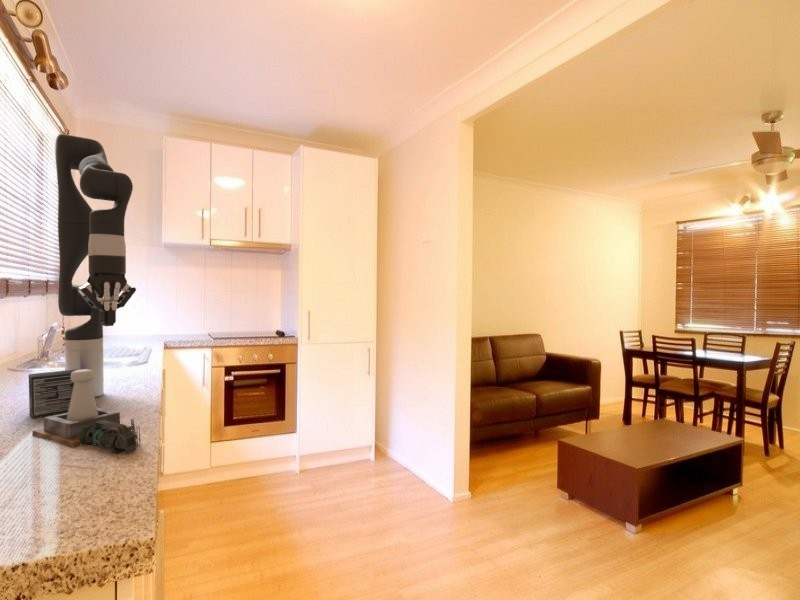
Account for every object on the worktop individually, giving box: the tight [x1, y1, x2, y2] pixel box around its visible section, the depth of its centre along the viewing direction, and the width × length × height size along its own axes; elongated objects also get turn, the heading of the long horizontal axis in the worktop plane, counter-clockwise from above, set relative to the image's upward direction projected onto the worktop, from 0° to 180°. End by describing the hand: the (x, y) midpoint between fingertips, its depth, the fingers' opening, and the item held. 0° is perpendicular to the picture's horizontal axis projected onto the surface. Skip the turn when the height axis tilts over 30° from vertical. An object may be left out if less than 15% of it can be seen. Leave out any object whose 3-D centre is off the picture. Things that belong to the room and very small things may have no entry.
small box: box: [28, 369, 78, 420], centre depth 115 cm, size 11×6×10 cm, turn 135°
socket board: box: [32, 407, 132, 448], centre depth 98 cm, size 16×12×4 cm
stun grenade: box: [78, 417, 141, 455], centre depth 90 cm, size 6×6×14 cm
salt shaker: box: [67, 369, 99, 421], centre depth 98 cm, size 6×6×13 cm
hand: (108, 325), depth 107 cm, fingers closed
